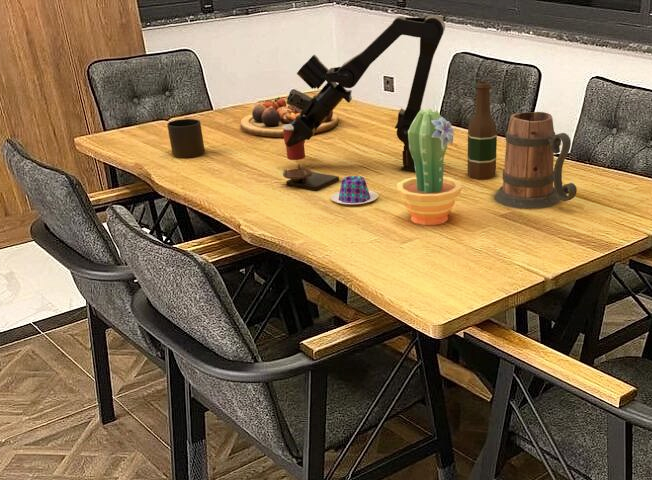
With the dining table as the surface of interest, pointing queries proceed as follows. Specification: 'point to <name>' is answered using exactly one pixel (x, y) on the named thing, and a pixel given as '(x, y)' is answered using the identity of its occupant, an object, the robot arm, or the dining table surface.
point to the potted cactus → (429, 170)
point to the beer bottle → (482, 137)
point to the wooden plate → (278, 119)
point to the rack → (308, 179)
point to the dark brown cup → (186, 138)
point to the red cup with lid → (296, 150)
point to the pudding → (354, 191)
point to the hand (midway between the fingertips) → (290, 142)
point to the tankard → (534, 163)
